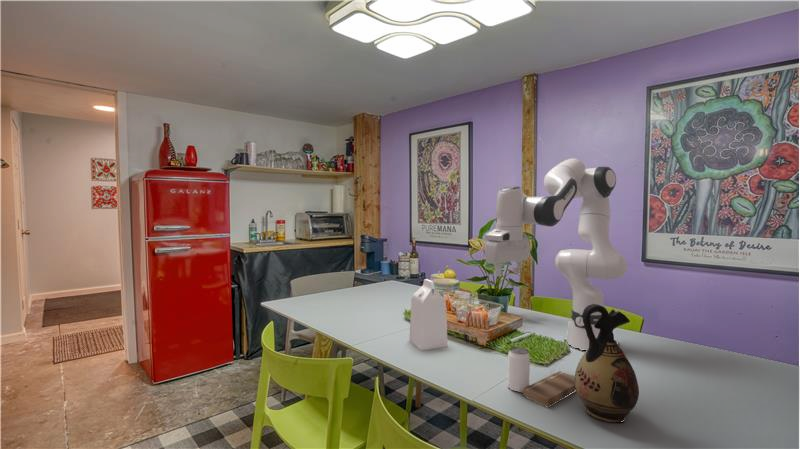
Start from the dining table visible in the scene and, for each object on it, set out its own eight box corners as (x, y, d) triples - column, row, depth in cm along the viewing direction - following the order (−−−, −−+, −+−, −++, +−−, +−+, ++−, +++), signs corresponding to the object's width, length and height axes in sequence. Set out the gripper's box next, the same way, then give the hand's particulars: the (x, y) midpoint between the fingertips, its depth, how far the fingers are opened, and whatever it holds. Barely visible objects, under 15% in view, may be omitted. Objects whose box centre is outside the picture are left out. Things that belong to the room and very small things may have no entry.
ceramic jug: (614, 398, 112) (619, 298, 110) (651, 429, 97) (656, 313, 95) (558, 398, 111) (561, 298, 110) (585, 430, 96) (589, 313, 94)
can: (524, 382, 121) (525, 346, 121) (532, 392, 115) (533, 354, 114) (504, 383, 121) (505, 346, 120) (511, 393, 114) (512, 354, 114)
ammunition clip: (463, 341, 158) (464, 313, 157) (465, 340, 159) (466, 312, 158) (488, 347, 151) (489, 317, 151) (490, 345, 153) (490, 316, 152)
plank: (559, 378, 125) (559, 370, 125) (583, 387, 118) (584, 379, 118) (523, 396, 113) (523, 388, 113) (547, 408, 106) (548, 399, 106)
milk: (447, 346, 152) (448, 282, 150) (421, 350, 147) (422, 284, 146) (433, 336, 163) (434, 276, 161) (409, 340, 159) (409, 278, 157)
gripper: (519, 232, 138) (518, 270, 139) (482, 234, 125) (481, 276, 126) (535, 233, 133) (534, 272, 134) (497, 236, 120) (496, 279, 121)
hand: (508, 274), depth 130 cm, fingers open, 8 cm apart
